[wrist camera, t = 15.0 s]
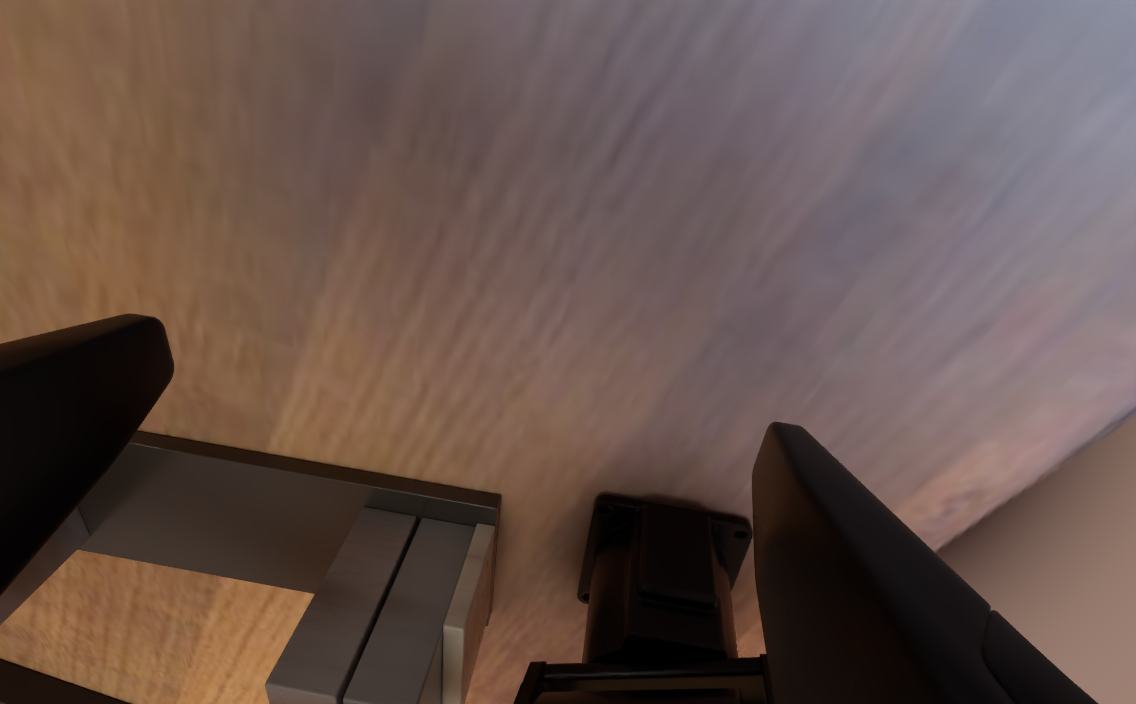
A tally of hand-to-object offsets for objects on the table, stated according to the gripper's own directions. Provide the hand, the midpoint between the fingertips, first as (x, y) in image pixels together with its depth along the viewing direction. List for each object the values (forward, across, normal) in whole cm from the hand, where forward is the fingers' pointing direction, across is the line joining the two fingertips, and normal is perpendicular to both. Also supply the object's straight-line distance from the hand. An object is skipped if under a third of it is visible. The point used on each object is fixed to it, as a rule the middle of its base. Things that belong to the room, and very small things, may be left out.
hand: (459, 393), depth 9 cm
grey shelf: (+12, +14, +18) cm, 26 cm away
